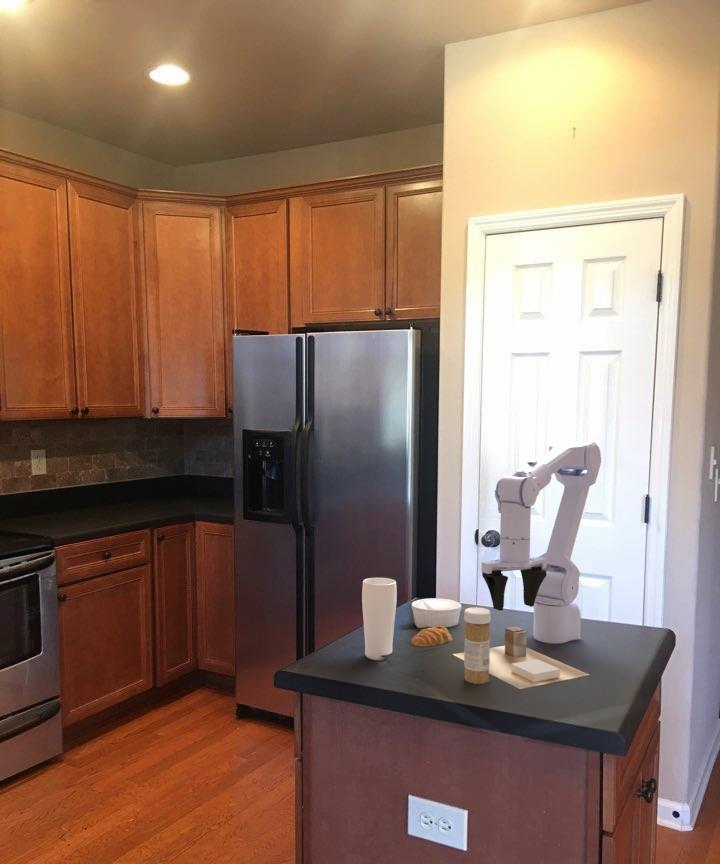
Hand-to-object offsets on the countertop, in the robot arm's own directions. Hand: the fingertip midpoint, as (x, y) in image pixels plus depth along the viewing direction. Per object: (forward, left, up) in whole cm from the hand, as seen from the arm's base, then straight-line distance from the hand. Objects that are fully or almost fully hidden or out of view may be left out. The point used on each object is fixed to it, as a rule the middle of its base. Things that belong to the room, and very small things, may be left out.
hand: (513, 607), depth 138 cm
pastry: (+9, -15, -11) cm, 21 cm away
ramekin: (+1, -26, -11) cm, 28 cm away
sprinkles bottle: (+15, +8, -11) cm, 20 cm away
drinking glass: (+23, -13, -11) cm, 28 cm away
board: (+3, +5, -10) cm, 12 cm away
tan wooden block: (0, 0, -9) cm, 9 cm away
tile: (+4, +8, -8) cm, 12 cm away
